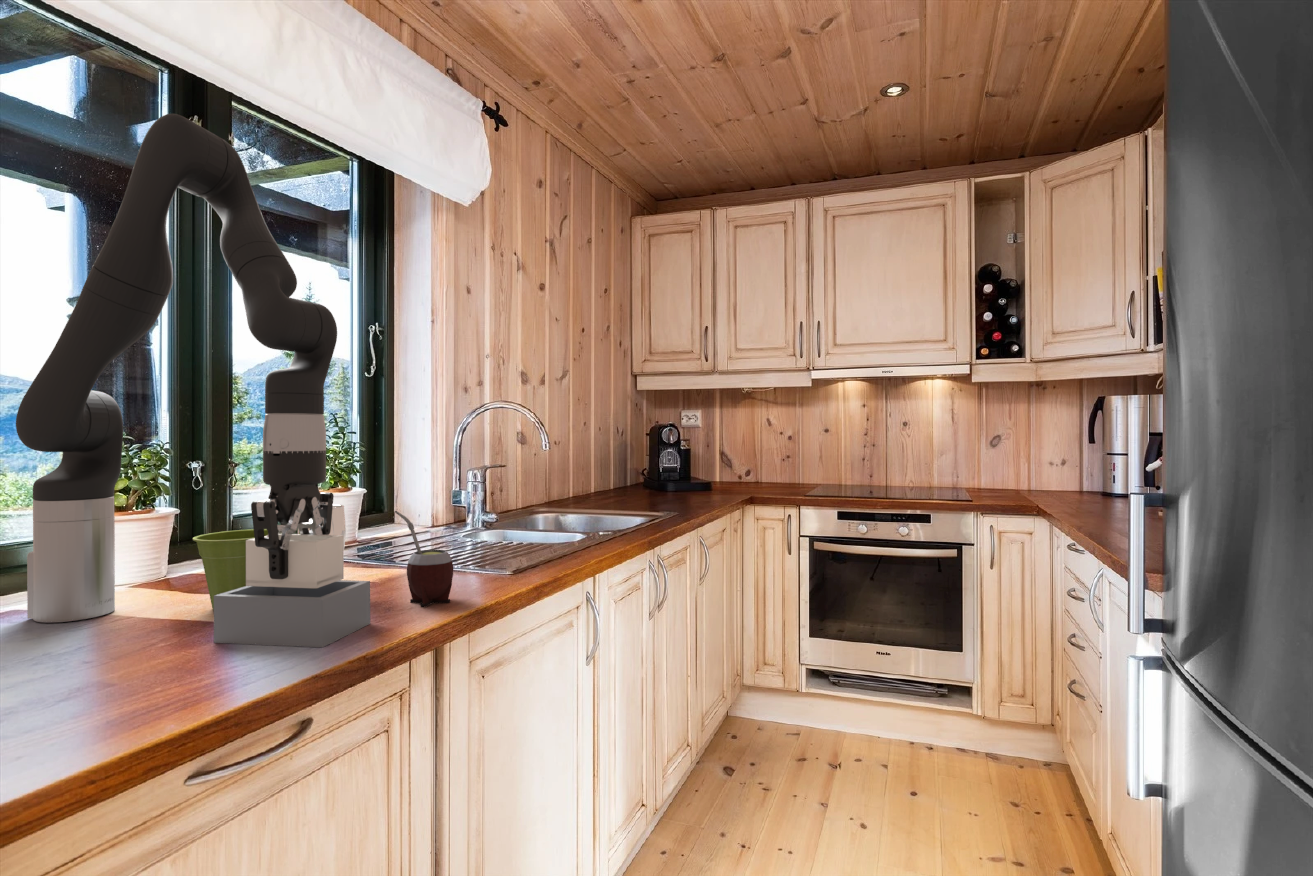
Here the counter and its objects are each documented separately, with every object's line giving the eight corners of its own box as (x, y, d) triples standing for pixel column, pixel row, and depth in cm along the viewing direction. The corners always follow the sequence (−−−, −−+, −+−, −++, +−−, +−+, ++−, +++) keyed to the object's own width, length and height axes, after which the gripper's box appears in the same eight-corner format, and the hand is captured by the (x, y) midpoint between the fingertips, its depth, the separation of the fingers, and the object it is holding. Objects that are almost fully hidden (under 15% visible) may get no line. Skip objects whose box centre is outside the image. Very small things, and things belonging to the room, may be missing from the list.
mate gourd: (459, 597, 114) (458, 505, 114) (442, 609, 106) (442, 511, 106) (413, 597, 114) (413, 505, 114) (394, 609, 106) (394, 510, 106)
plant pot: (245, 595, 115) (244, 527, 115) (299, 601, 111) (299, 530, 111) (173, 612, 104) (173, 537, 104) (231, 619, 100) (230, 541, 100)
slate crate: (322, 647, 87) (322, 599, 87) (213, 642, 89) (213, 595, 89) (370, 623, 98) (370, 581, 98) (272, 620, 100) (272, 578, 100)
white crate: (316, 588, 90) (316, 541, 90) (245, 586, 91) (245, 540, 91) (343, 578, 96) (343, 535, 96) (276, 576, 97) (276, 533, 97)
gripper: (303, 447, 101) (303, 563, 101) (229, 449, 87) (230, 584, 87) (351, 447, 100) (351, 564, 100) (285, 449, 86) (285, 586, 86)
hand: (295, 573), depth 94 cm, fingers closed on white crate, 6 cm apart
